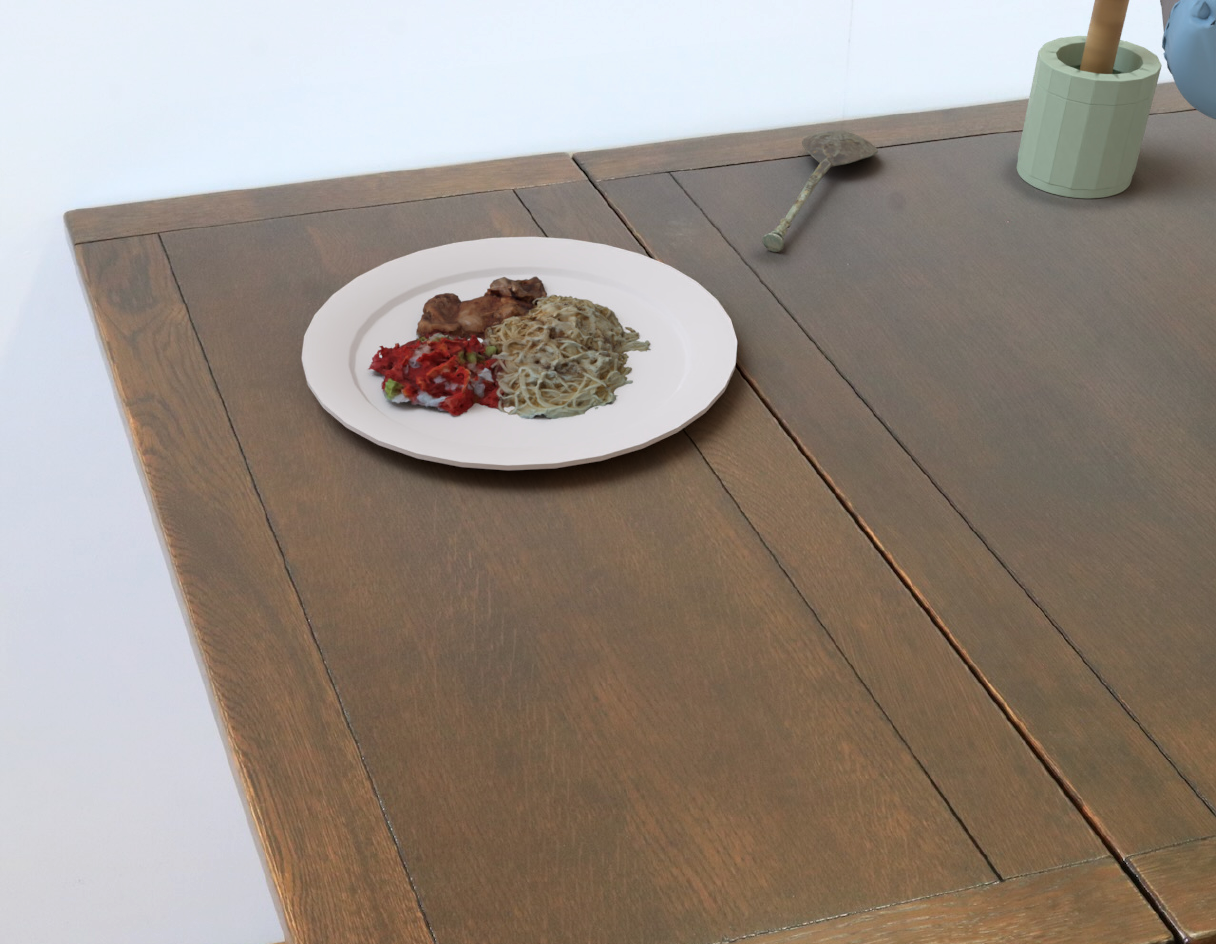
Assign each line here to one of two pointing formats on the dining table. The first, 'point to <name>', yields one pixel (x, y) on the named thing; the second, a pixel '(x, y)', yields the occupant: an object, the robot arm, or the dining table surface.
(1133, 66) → the jar
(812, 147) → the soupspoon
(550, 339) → the plated food
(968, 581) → the dining table surface
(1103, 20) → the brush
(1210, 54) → the robot arm
